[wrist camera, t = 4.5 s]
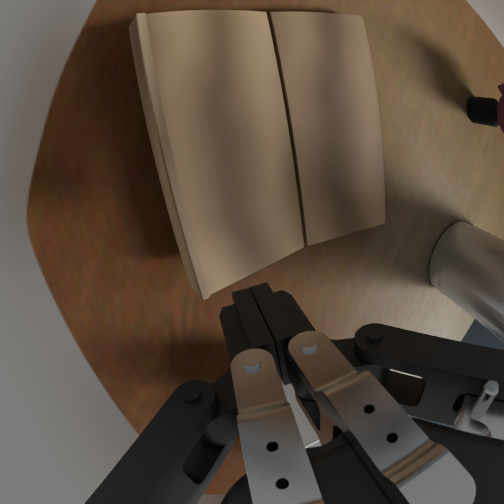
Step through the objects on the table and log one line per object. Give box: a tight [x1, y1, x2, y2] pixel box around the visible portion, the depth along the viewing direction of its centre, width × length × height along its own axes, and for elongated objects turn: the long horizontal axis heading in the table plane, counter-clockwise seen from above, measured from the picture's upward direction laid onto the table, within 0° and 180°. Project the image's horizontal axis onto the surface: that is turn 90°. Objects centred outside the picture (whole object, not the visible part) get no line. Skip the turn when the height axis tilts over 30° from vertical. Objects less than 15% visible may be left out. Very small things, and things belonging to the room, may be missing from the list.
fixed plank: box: [267, 12, 385, 246], centre depth 21 cm, size 8×18×2 cm, turn 10°
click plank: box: [129, 10, 304, 300], centre depth 18 cm, size 9×18×2 cm, turn 9°
